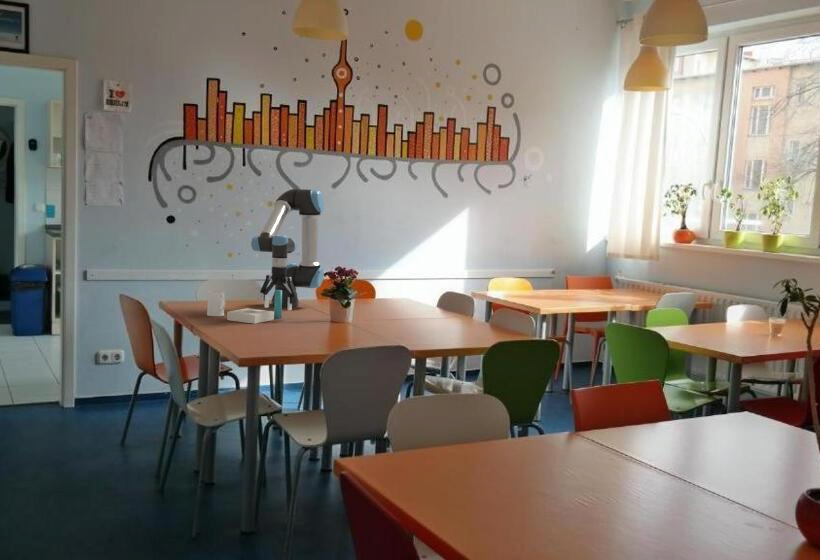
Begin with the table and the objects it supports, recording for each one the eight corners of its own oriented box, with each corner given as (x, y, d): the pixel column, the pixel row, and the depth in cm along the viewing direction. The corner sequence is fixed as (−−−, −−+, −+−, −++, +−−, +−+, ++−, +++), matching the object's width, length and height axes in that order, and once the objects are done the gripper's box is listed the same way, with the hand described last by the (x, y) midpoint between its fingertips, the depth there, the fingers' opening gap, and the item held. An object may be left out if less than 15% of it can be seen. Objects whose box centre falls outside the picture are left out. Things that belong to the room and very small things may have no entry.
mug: (231, 316, 402) (231, 292, 401) (215, 317, 396) (216, 293, 395) (218, 313, 410) (219, 289, 409) (203, 314, 405) (204, 290, 403)
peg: (272, 318, 403) (273, 290, 402) (276, 317, 407) (277, 289, 405) (278, 319, 402) (279, 291, 400) (282, 318, 405) (283, 290, 404)
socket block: (227, 320, 391) (227, 311, 391) (246, 316, 406) (247, 308, 405) (254, 323, 385) (254, 315, 384) (273, 319, 399) (273, 311, 399)
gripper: (253, 264, 403) (252, 307, 405) (296, 268, 393) (295, 312, 395) (262, 263, 410) (261, 305, 412) (304, 267, 400) (303, 310, 402)
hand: (277, 308), depth 404 cm, fingers open, 13 cm apart
